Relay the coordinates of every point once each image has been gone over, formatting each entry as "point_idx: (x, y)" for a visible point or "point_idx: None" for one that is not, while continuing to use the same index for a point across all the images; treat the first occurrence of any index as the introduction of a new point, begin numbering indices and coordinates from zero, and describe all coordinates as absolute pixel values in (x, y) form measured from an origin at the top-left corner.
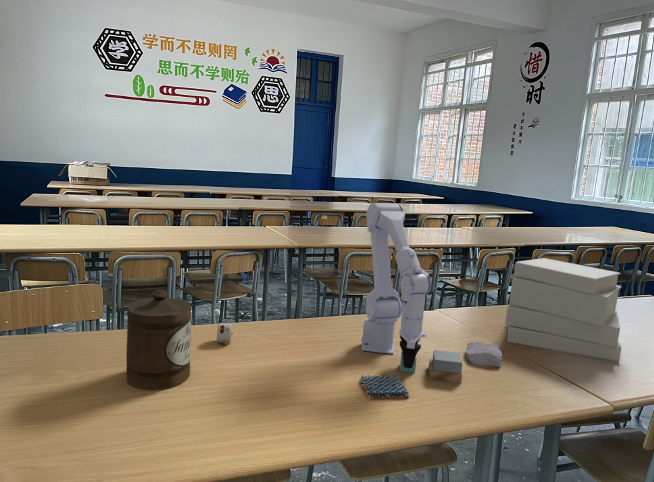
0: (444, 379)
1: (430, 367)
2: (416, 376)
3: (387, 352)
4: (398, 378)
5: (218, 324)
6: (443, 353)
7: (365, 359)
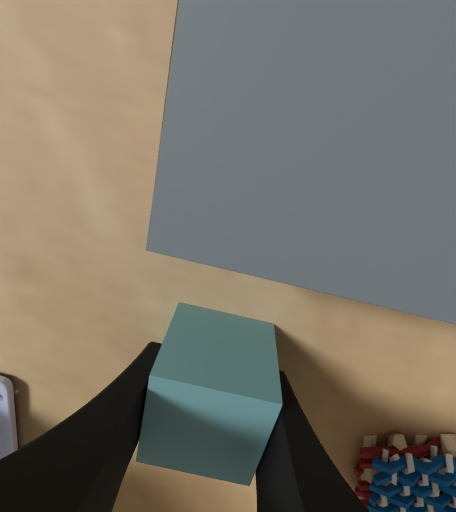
0: None
1: None
2: (327, 328)
3: (10, 409)
4: (412, 459)
5: None
6: (284, 131)
7: (123, 495)
